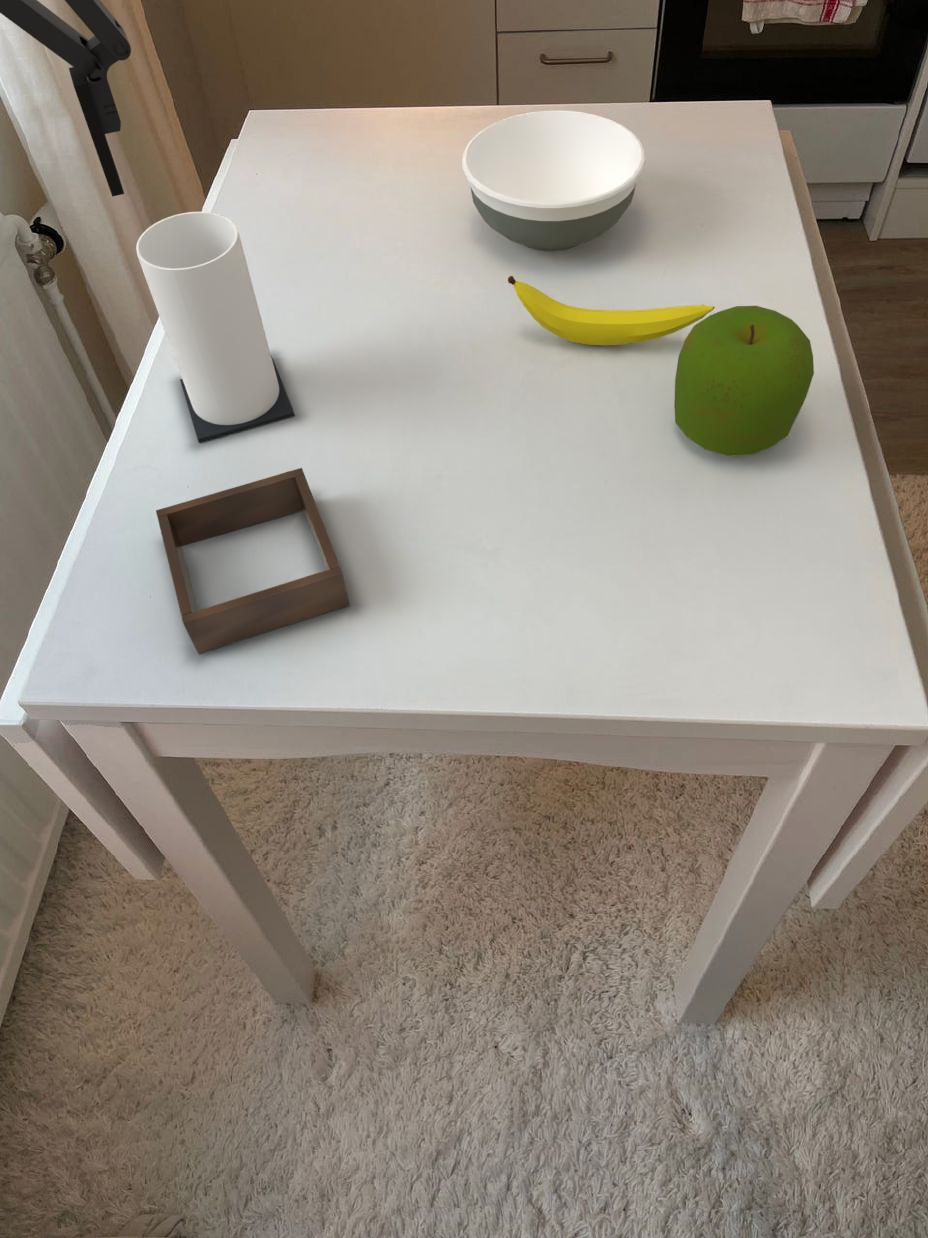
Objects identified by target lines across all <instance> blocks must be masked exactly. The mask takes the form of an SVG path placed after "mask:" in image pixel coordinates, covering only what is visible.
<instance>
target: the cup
mask: <svg viewBox="0 0 928 1238" xmlns="http://www.w3.org/2000/svg"><path fill="white" fill-rule="evenodd" d="M240 236H241V235H240V233H239V230H238V228H237V226H236V224H235V223H234V222H233V221H232V220H231V219H230V218H229V217H228V216H227V217H226V216H224V215H223V214H219V213H217V212H210V211H189V212H182V213H177V214H173V215H171V216H168V217H165V218H163V219H160V220H159V221H156V222H155V223H153V224H151V225H150V226H149V227H148V228H146V230H144V231H143V233H141V235H140V236H139V238H138V240H137V242H136V246H135V250H136V255H137V258H138V262H139V264H140V267H141V269H142V272H143V275H144V278H145V280H146V281H145V282H146V284H147V286H148V289H149V292H150V295H151V297H152V300H153V303H154V305H155V308H156V311H157V314H158V316H159V319H160V322H161V325H162V327H163V330H164V334H165V335H166V338H167V341H168V344H169V346H170V350H171V352H172V355H173V358H174V361H175V363H176V365H177V369H178V371H179V374H180V376H181V377H180V378H181V379H182V380H183V382H184V385H185V388H186V391H187V393H188V396H189V399H190V402H191V404H192V407H193V409H194V411H195V413H196V414H197V415H198V416H199V417H200V418H202V419H203V420H205V421H207V422H210V423H214V424H219V425H235V424H241V423H245V422H248V421H251V420H254V419H256V418H258V417H260V416H261V415H263V414H264V413H266V412H267V411H268V410H269V409H270V408H271V407H272V406H273V405H274V404H275V402H276V400H277V398H278V395H279V384H278V380H277V376H276V373H275V369H274V365H273V361H274V360H273V361H272V358H273V356H272V354H271V351H270V347H269V342H268V339H267V335H266V331H265V328H264V327H265V326H264V323H263V321H262V320H263V319H262V316H261V312H260V308H259V305H258V300H257V296H256V294H255V289H254V285H253V282H252V278H251V274H250V270H249V267H248V264H247V258H246V255H245V251H244V248H243V247H244V246H243V243H242V240H241V237H240ZM271 356H272V357H271Z"/></svg>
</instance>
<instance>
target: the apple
mask: <svg viewBox="0 0 928 1238" xmlns="http://www.w3.org/2000/svg"><path fill="white" fill-rule="evenodd" d="M814 367H815V366H814V354H813V348H812V343H811V340H810V338H809V337H808V336H807V335H806V334H805V332H804V331H803V330H802V328H801V327H800V326H799V325H798V324H797V323H796V321H794V320H793V319H792V318H790V317H788V316H786V315H784V314H782V313H780V312H778V311H776V310H774V309H770V308H766V307H762V306H759V305H736V306H733V307H730V308H726V309H723V310H719V311H717V312H715V313H712V314H710V315H708V316H707V317H704V318H703V319H701V320H700V321H699V322H697V323H696V324H695V325H693V327H692V328H691V330H690V331H689V333H688V334H687V336H686V338H685V339H684V341H683V344H682V347H681V349H680V351H679V354H678V358H677V364H676V371H675V379H674V403H673V407H674V422H675V423H676V425H677V427H679V429H680V430H681V431H682V433H683V434H684V435H685V437H686V438H688V439H689V440H691V441H692V442H694V443H695V444H696V445H697V446H699V447H700V448H702V449H703V450H706V451H709V452H713V453H717V454H721V455H724V456H727V457H733V456H734V457H735V456H747V455H748V456H749V455H755V454H757V453H760V452H762V451H765V450H767V449H770V448H773V447H774V446H776V445H777V444H779V443H780V442H782V441H783V440H784V439H786V437H788V436H789V434H790V432H791V430H792V428H793V425H794V424H795V422H796V419H797V418H798V415H799V413H800V412H801V409H802V407H803V405H804V403H805V401H806V399H807V396H808V392H809V390H810V387H811V384H812V381H813V377H814V374H815V368H814Z"/></svg>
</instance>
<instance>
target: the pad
mask: <svg viewBox="0 0 928 1238" xmlns="http://www.w3.org/2000/svg"><path fill="white" fill-rule="evenodd" d="M271 357H272V361H273V365H274V369H275V373H276V376H277V380H278V384H279V395H278V398H277V400H276V402H275V404H274V405H273V406H272V407H271V408H270V409H269V410H268V411H267V412H266V413H264V414H263V415H261V416H260V417H258V418H256V419H254V420H251V421H248V422H245V423H241V424H235V425H219V424H214V423H210V422H207V421H205V420H203V419H202V418H200V417H199V416H198V415H197V414H196V413H195V411H194V409H193V407H192V404H191V402H190V399H189V396H188V393H187V391H186V388H185V385H184V382H183V380H182V378H179V381H180V385H181V388H182V392H183V395H184V398H185V401H186V405H187V408H188V411H189V415H190V418H191V422H192V425H193V429H194V432H195V435H196V439H197V441H198V444H202V443H205V442H208V441H212V440H215V439H220V438H222V437H226V436H230V435H233V434H236V433H240V432H243V431H247V430H250V429H255V428H258V427H261V426H265V425H268V424H271V423H272V424H273V423H276V422H279V421H282V420H286V419H289V418H293V417H295V416H296V414H295V411H294V408H293V406H292V404H291V400H290V398H289V396H288V394H287V391H286V389H285V386H284V384H283V381H282V378H281V376H280V373H279V371H278V368H277V366H276V363H275V360H274V358H273V356H272V355H271Z"/></svg>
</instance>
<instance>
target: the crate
mask: <svg viewBox="0 0 928 1238" xmlns="http://www.w3.org/2000/svg"><path fill="white" fill-rule="evenodd" d="M302 511H303V512H304V515H305V517H306V521H307V522H308V525H309V528H310V530H311V533H312V536H313V539H314V541H315V544H316V547H317V550H318V552H319V554H320V558H321V560H322V564H323V565H324V568H325V570H323V571H319V572H317V573H313V574H310V575H306V576H304V577H301V578H297V579H295V580H291V581H288V582H284V583H281V584H278V585H275V586H271V587H268V588H266V589H262V590H259V591H256V592H253V593H250V594H246V595H243V596H240V597H237V598H234V599H230V600H228V601H224V602H221V603H217V604H215V605H212V606H208V607H205V608H202V609H198V605H197V601H196V597H195V593H194V589H193V586H192V581H191V577H190V574H189V570H188V565H187V561H186V558H185V554H184V550H183V547H185V546H188V545H189V546H190V545H193V544H195V543H198V542H202V541H205V540H208V539H212V538H214V537H219V536H222V535H225V534H228V533H232V532H236V531H238V530H242V529H244V528H248V527H252V526H255V525H258V524H261V523H264V522H268V521H272V520H276V519H278V518H282V517H285V516H289V515H292V514H295V513H298V512H302ZM155 514H156V517H157V521H158V526H159V529H160V534H161V538H162V542H163V546H164V549H165V550H164V551H165V554H166V558H167V562H168V566H169V570H170V571H169V572H170V576H171V579H172V584H173V587H174V591H175V595H176V599H177V604H178V608H179V612H180V617H181V621H182V624H183V626H184V628H185V630H186V632H187V634H188V636H189V639H190V641H191V642H192V644H193V647H194V648H195V650H196V653H197V654H198V655H201V654H204V653H206V652H209V651H212V650H215V649H219V648H221V647H225V646H229V645H231V644H234V643H238V642H240V641H243V640H246V639H249V638H253V637H255V636H258V635H259V636H260V635H262V634H265V633H268V632H271V631H274V630H277V629H281V628H284V627H287V626H290V625H293V624H296V623H299V622H302V621H305V620H308V619H312V618H315V617H318V616H322V615H324V614H327V613H331V612H333V611H336V610H340V609H343V608H346V607H350V606H351V603H350V599H349V595H348V591H347V586H346V582H345V578H344V573H343V571H342V569H341V565H340V563H339V561H338V558H337V555H336V553H335V550H334V548H333V546H332V543H331V540H330V538H329V535H328V532H327V529H326V527H325V524H324V521H323V519H322V517H321V514H320V511H319V509H318V506H317V503H316V501H315V499H314V496H313V493H312V490H311V488H310V485H309V482H308V481H307V478H306V474H305V472H304V470H303V468H302V467H300V468H296V469H293V470H289V471H286V472H282V473H279V474H276V475H271V476H269V477H265V478H262V479H259V480H255V481H252V482H247V483H245V484H242V485H241V484H240V485H237V486H235V487H231V488H228V489H224V490H221V491H217V492H214V493H211V494H207V495H204V496H201V497H197V498H193V499H189V500H186V501H184V502H183V501H182V502H180V503H177V504H172V505H170V506H167V507H166V506H165V507H163V508H160V509H156V510H155Z"/></svg>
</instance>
